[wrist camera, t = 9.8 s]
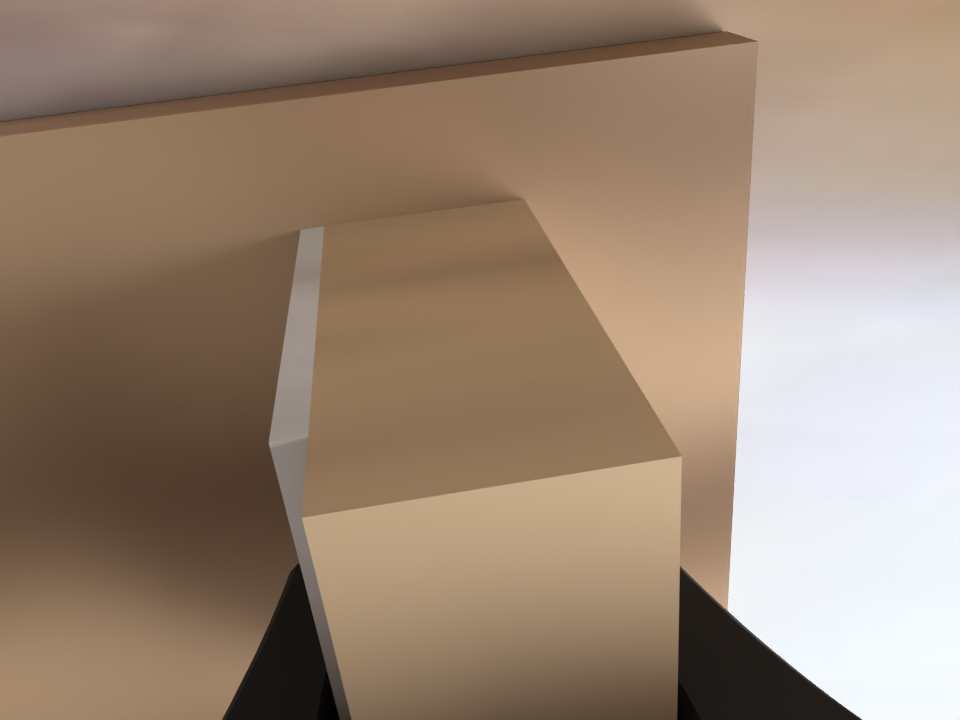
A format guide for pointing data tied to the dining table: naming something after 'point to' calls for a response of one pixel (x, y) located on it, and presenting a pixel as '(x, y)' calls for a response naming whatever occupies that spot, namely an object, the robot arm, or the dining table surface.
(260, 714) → the robot arm
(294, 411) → the light wood block
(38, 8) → the dining table surface
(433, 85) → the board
